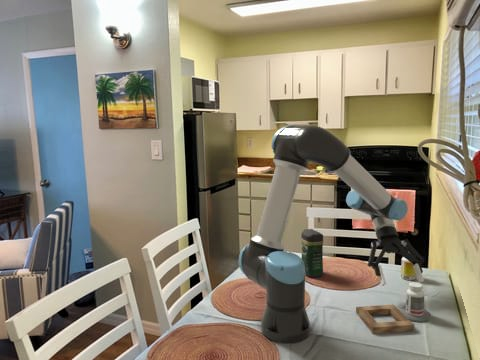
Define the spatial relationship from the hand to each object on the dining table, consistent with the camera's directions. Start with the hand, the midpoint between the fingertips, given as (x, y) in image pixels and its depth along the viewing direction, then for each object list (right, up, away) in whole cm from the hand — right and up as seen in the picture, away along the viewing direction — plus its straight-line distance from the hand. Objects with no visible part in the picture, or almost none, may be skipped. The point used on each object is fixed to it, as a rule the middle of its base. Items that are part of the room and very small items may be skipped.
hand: (402, 283), depth 135 cm
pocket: (-11, -9, -11) cm, 18 cm away
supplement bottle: (+11, -4, +21) cm, 24 cm away
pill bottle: (+1, -8, -7) cm, 11 cm away
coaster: (+1, -8, -7) cm, 11 cm away
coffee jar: (-27, -3, +28) cm, 39 cm away
